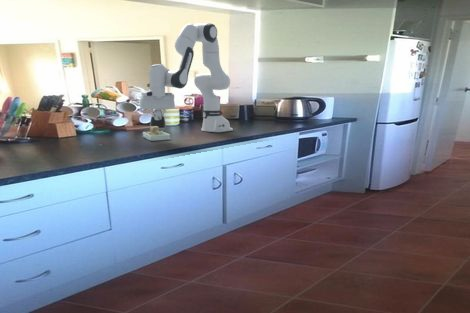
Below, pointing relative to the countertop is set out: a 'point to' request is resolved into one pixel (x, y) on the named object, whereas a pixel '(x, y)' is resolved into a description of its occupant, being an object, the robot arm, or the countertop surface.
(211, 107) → the robot arm
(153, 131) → the beech block
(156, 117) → the metal cylinder
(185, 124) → the countertop surface
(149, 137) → the tray
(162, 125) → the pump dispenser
